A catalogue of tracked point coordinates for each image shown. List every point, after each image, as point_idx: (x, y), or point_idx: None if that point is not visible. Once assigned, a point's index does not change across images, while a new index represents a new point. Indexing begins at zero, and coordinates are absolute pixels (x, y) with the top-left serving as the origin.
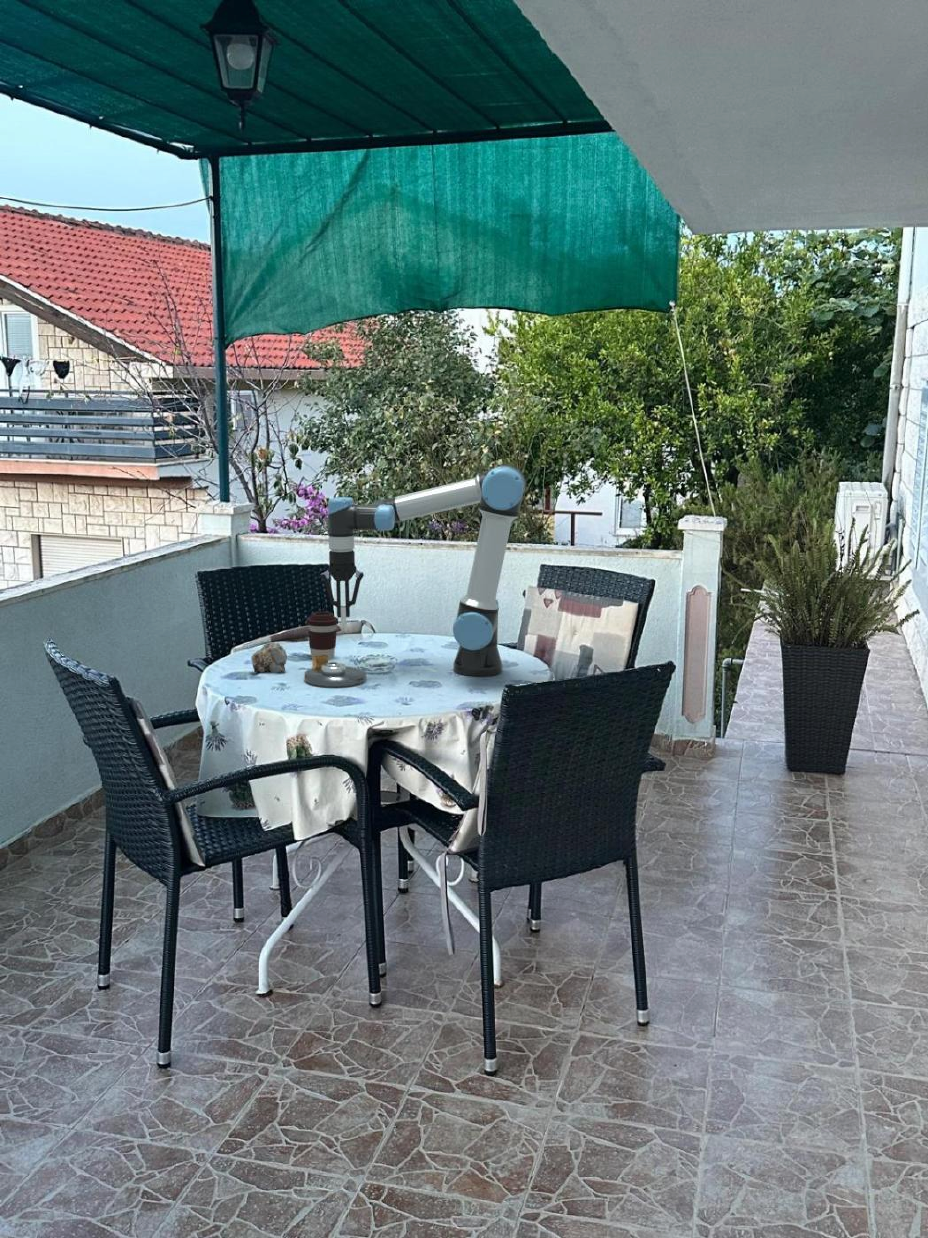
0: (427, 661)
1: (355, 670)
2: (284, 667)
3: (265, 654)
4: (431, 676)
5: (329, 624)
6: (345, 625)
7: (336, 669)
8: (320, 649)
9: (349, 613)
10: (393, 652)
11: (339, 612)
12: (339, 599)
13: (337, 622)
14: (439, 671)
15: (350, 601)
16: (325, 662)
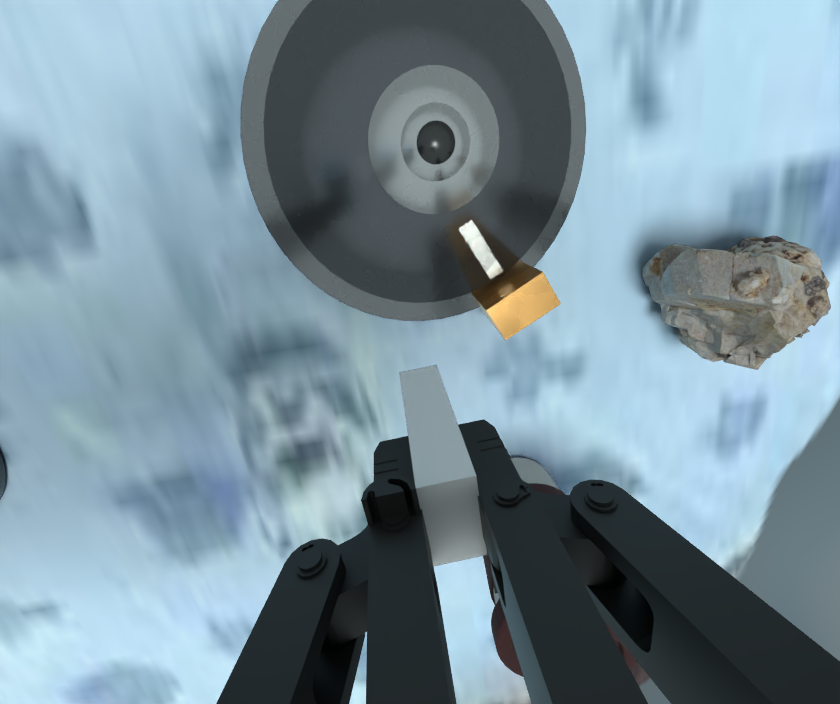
0: (151, 533)
1: (336, 232)
2: (656, 267)
3: (795, 248)
4: (41, 340)
5: None
6: (407, 383)
7: (407, 72)
8: (530, 483)
9: (377, 466)
10: None
11: (479, 451)
12: (525, 568)
13: (494, 619)
14: (46, 418)
15: (360, 587)
16: (490, 295)
